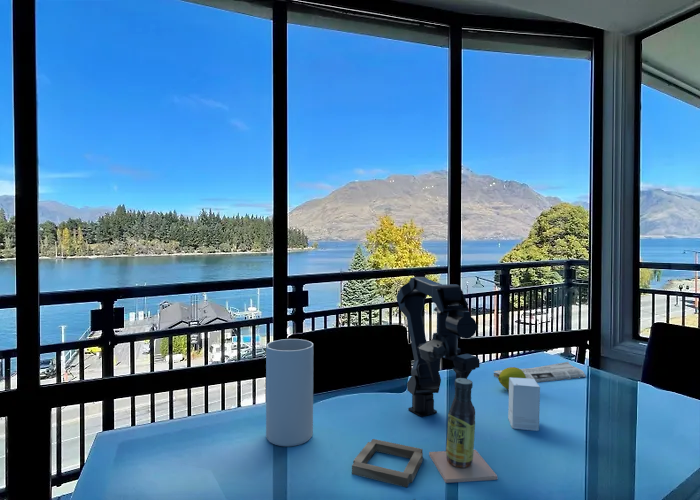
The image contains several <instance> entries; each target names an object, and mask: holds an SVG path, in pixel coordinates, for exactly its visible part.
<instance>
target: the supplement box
mask: <svg viewBox="0 0 700 500" xmlns="http://www.w3.org/2000/svg"><path fill="white" fill-rule="evenodd" d="M540 396H541V386H540V385H539V383H538V382H536V381H535V379H528V378H509V389H508V409H507V410H508V412H507V417H508V421H509V424H510V427H511V428H512V429H515V430H523V431H535V432H539V431H540V410H541V408H540V404H541V403H540V402H541V401H540V398H541V397H540Z"/></svg>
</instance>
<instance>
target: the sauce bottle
mask: <svg viewBox="0 0 700 500" xmlns="http://www.w3.org/2000/svg"><path fill="white" fill-rule="evenodd" d="M473 386H474V385H473V381H472V380H471V379H469V378H467V379H466V378H457V379H456V378H455V379H454V387H455V389H454V398H453V401H452V403H451V406H450V409H449V411H448V415H447V430H446V431H447V432H446V447H445V449H446V450H445V451H446V455H447V461H448V462H449V464H451V465H453V466H455V467H458V468H465V467H469V466H471V464H472V460H473V452H474V450H475V448H474V447H475V433H476V432H475V430H476V409H475V406H474V404H473V402H472V388H473Z"/></svg>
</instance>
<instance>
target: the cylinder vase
mask: <svg viewBox="0 0 700 500" xmlns="http://www.w3.org/2000/svg"><path fill="white" fill-rule="evenodd" d="M265 349H266V350H265V352H266V354H265V358H266V359H265V361H266V364H265V369H266V371H265V372H266V373H265V376H266V377H265V382H266V383H265V386H266V387H265V396H266V397H265V412H266V413H265V415H266V416H265V431H266V432H265V436H266V439H267V441H268V442H269V443H271V444H273V445H275V446H279V447H295V446H299V445H302V444H304V443H306V442H308V441H310V439H311V438H312V436H313V434H314V343H313V342H312V341H309V340H307V339H299V338H285V339H278V340H272V341H270V342H268V343H266V347H265Z"/></svg>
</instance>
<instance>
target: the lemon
mask: <svg viewBox="0 0 700 500" xmlns="http://www.w3.org/2000/svg"><path fill="white" fill-rule="evenodd" d="M521 369H522V368H519V367H515V366H514V367H512V366H509V367H506V368H504V369H502V370H503V371H502V372H501V373H500V375H499V377H497V379H498V381H499V382H498V383H500V385H501V386H502V387H503V388H505V389H506V390H509V378H526V376H525V374H524V372H523V371H522V370H521Z"/></svg>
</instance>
